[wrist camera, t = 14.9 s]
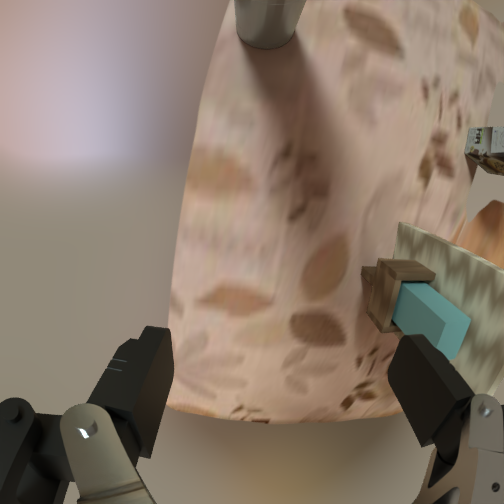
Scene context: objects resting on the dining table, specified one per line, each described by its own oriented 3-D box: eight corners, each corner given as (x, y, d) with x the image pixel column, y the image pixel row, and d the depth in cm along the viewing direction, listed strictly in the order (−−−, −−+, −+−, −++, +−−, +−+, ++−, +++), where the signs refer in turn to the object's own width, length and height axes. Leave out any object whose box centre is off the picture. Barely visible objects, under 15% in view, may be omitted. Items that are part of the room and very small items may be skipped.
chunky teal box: (388, 272, 38) (445, 323, 23) (411, 272, 38) (471, 319, 23) (380, 305, 39) (429, 364, 25) (403, 304, 39) (454, 358, 25)
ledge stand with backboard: (364, 218, 43) (499, 296, 15) (407, 223, 44) (541, 291, 15) (347, 315, 49) (421, 444, 20) (388, 314, 49) (473, 423, 20)
